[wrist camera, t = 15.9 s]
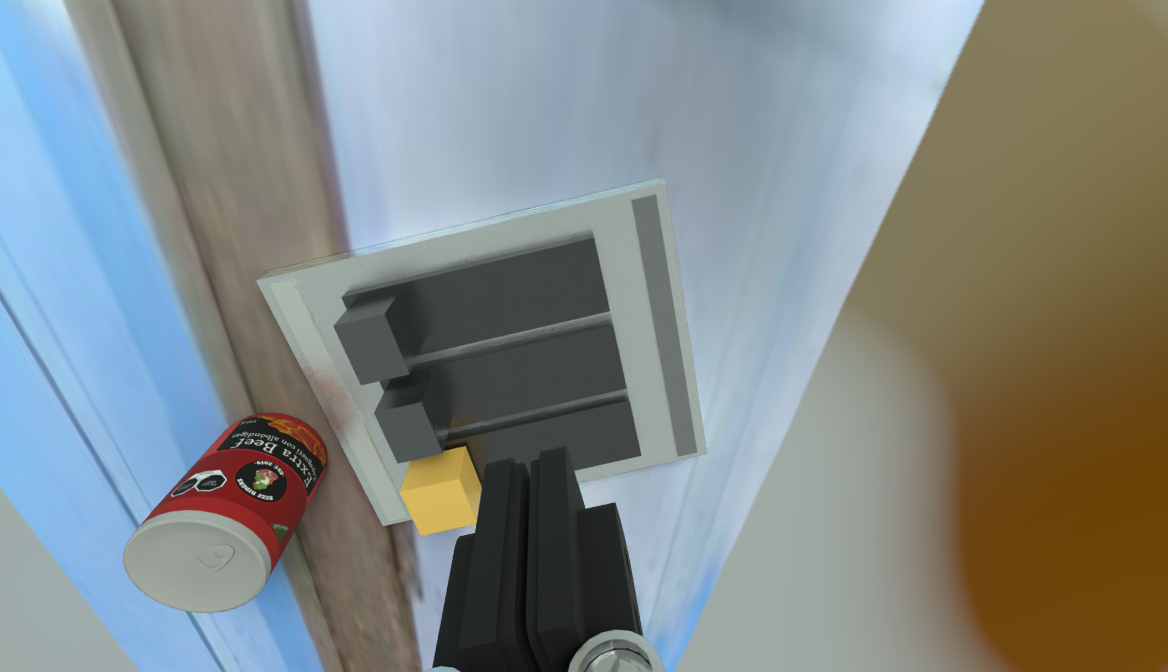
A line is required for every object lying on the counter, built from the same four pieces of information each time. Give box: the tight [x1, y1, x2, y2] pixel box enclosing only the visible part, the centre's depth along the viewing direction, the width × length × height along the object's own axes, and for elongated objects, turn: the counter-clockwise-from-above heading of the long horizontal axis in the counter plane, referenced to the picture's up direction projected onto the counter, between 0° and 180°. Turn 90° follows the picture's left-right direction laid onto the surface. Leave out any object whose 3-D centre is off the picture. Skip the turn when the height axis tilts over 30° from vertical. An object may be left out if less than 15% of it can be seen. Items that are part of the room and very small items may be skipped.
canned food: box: [123, 413, 327, 613], centre depth 37 cm, size 8×8×11 cm
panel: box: [256, 177, 707, 526], centre depth 37 cm, size 26×21×6 cm
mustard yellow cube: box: [400, 446, 482, 536], centre depth 38 cm, size 4×4×4 cm
